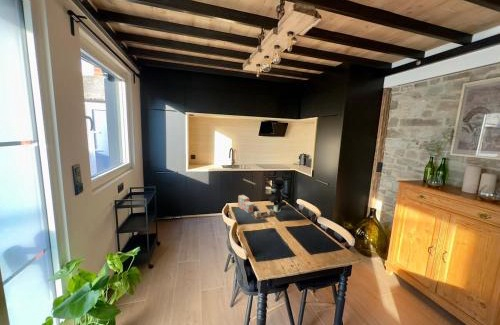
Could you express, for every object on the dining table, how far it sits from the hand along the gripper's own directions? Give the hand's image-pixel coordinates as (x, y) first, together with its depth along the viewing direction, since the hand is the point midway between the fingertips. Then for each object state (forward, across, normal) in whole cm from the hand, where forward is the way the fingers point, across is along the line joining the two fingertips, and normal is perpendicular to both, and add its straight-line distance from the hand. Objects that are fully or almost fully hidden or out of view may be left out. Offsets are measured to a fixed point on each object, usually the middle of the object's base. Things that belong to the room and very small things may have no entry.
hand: (277, 209), depth 180 cm
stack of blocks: (+11, -33, -15) cm, 38 cm away
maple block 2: (+10, -12, +1) cm, 16 cm away
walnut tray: (+11, -12, -6) cm, 17 cm away
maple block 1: (+10, -12, -13) cm, 20 cm away
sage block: (+1, 0, 0) cm, 1 cm away
